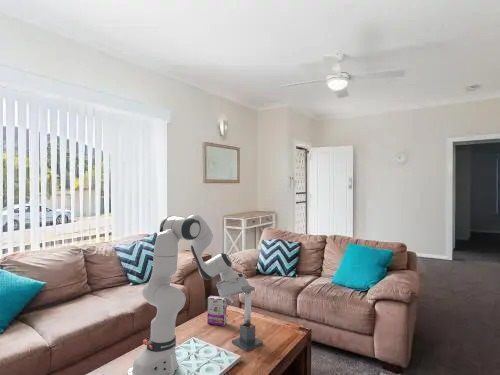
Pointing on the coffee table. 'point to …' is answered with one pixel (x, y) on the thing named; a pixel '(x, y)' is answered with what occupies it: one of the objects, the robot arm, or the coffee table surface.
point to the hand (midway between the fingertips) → (240, 300)
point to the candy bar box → (217, 310)
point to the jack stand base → (247, 338)
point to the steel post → (247, 304)
